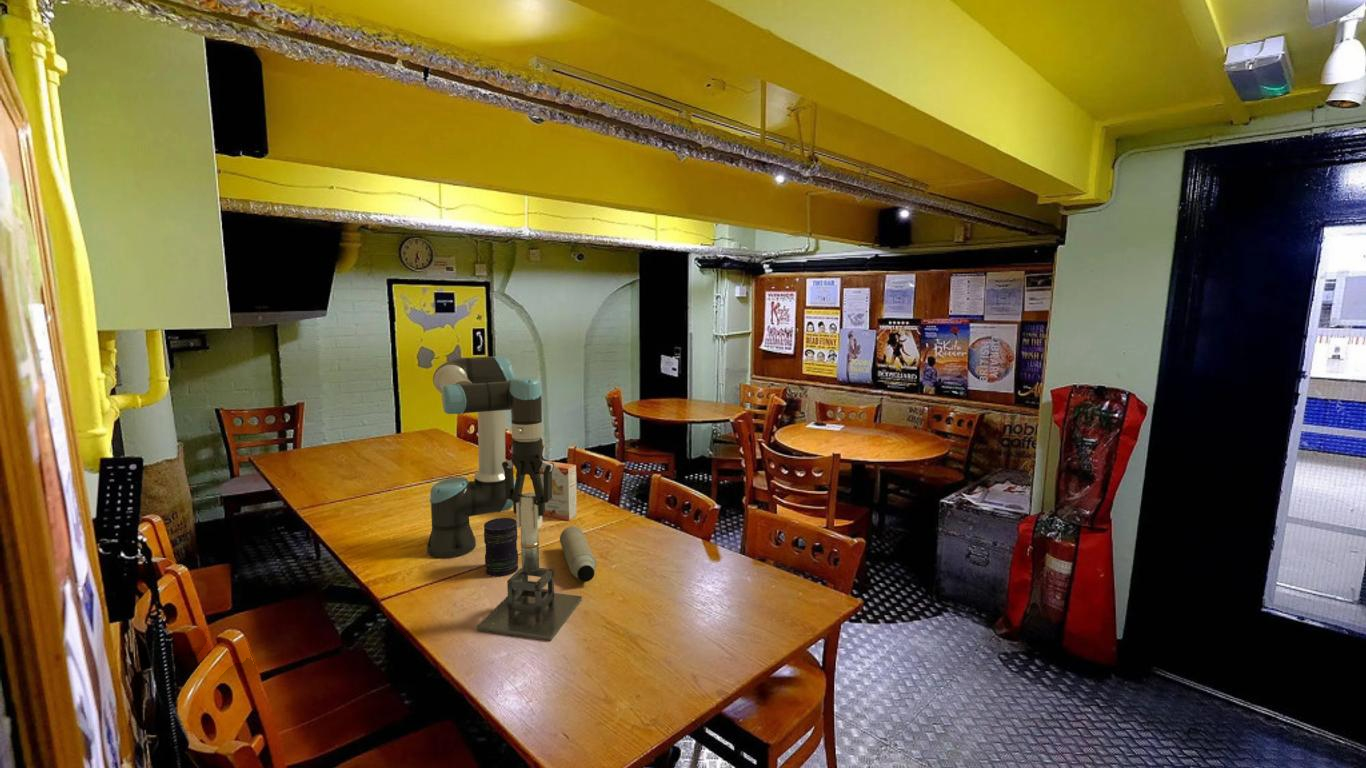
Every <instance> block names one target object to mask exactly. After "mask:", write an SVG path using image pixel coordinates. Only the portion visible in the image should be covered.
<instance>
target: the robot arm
mask: <svg viewBox="0 0 1366 768" xmlns="http://www.w3.org/2000/svg"><path fill="white" fill-rule="evenodd" d="M432 383H433V385H434V388H435V389H436V390H437V391H438V392H439V393H440V394H441V401H442V402H441V403H442V407H443V408H442V409H443V412H444V413H445V414H447V415H462V414H472V413H477V434H478V435H477V437H478V470H477V472H475V474H474V476H473V477H474V478H473V479H474V480H471V481H469V480H468V479H467V477H462V476H459V477H458V476H456V477H455V476H454V477H449V478H446V479H443V480H440V481H438V482H436V483H435V484H433V486H431V488H430V494H429V497H430V499H429V503H430V513H431V531H430V533H429V534H430V535H429V538H428V541H427V545H426V551H427V552H426V553H427V554H428V555H429V556H430V557H432V558H437V559H451V558H457V557H460V556H464V555H466V554H469V553H471V552H472V551H474V549H476V546H477V544H476V543H477V542H476V541H477V540H476V537H475V535H474V532H473V530H472V527H471V525H470V517H473V516H474V517H476V516H483V515H487V514H488V515H489V514H495V513H498V514H499V513H501V512H505V511H509V510H510V509H513V511H512V512H513V513H514V515H516V521H517V528H521V519H520V495H521V494H523V488H524V484H525V478H526V476H527V475H528V476H529V479H530V480H531V482H532V486H533V491H534V493H535V496H536V500H537V503H536V504H535V505H534V512H535V529H538V530H539V529H540V528H541V527H542V526H543V517H544V516H543V515H544V514H545V503H547V502H548V501H550V500H551V499H552V470H553V468H554V464H553V463H550V464H549V463H547V462H545V461H546V460H545V458H544V456H543V452H544V450H543V449H544V448H543V442H544V441H543V439H542V437H543V412H542V411H543V408H542V407H543V406H542V404H543V401H542V400H543V399H542V394H543V390H542V381H541V379H539V378H537V377H533V376H520V377H515V372H514V370H513V366H512V363H511V362H510V359H509V358H507V357H504V356H495V355H494V356H479V357H476V356H475V357H474V356H473V357H458V358H454V359H450V360H448V361H446V362H443V363H442V364H441V365H440V366H438V367H437V368H436V369H435V371H434V373H433V376H432ZM509 410H510V414H511V415H510V416H511V421H510V422H511V424H510V425H511V438H512V441H511V451H512V457H511V459H507V460H506V411H509ZM542 466H543V471H544V475H543V482H544V490H543V486H542V482H541V478H540V475H541V473H540V468H541V467H542ZM514 468H515V469H516V474H515V475H514Z"/></svg>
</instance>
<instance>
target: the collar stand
mask: <svg viewBox="0 0 1366 768" xmlns="http://www.w3.org/2000/svg"><path fill="white" fill-rule="evenodd" d="M554 575H555V569H554V568H547V567H539V570H537V571H535V572H531V573H527V572H523V571H522V567H520V569H518V570H517V571H516V572H515V573H513V574H512V576H511V577H510V578H509V579H507V581H506V582H507V583H506V585H507V596H506V597H505V598H504V599H503V600H502V601H501V602H499V604H498V605H497V606H496V607H495V608H494V609H493V610H492V611H491V612H490V613H489V614H488V615H487V616H486V617H485V618H484V619H483V620H481V622H479V624H478V625H477V626H476V631H477V632H484V633H491V634H499V635H505V636H512V637H520V638H527V639H535V640H542V641H549V642H551V641H552V640H553V639H554V638H555V636H556V635H557V634H558V632H559V631H560V630H561V628H562V627H563V625H564V624H565V623H566V622H567V620H568V619H569V618H570V616H571V615H572V614H573V612H574V611H575V610H576V609H577V607H578V606H579V605H580V603H581V602H582V601H583V599H582V598H583V597H582V595H575V594H567V593H559V592H558V593H557V592H555V576H554ZM529 576H530V577H538V578H539V579H538V580H537V581H534V580H533V581H532V580H529ZM546 585H547V589H546V588H544V587H546Z"/></svg>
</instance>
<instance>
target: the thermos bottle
mask: <svg viewBox="0 0 1366 768" xmlns="http://www.w3.org/2000/svg"><path fill="white" fill-rule="evenodd" d="M559 541H560V545H561V549H562V551H563V554H564V557H565V559H566V563H567V566H568V568H569V571H570V573H571V575H572V576H573V577H575V578H577V579H579V581H580V582H583V583H587V582H590V581H591V580H592V579H593V578H594V576H595V571H596V567H597V561H596V558H595V556H594V554H593V550H592V549H591V547H590V545H589V543H588V540H587V538H586V536H585V534H584V532H583V530H582V529H581V528H580V527H578V526H574V525H572V526H568V527H565V528H564V529H563V530H562V531H561V533H560V535H559Z"/></svg>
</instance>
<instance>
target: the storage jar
mask: <svg viewBox="0 0 1366 768" xmlns="http://www.w3.org/2000/svg"><path fill="white" fill-rule="evenodd" d="M483 528H484V529H483V531H484V532H483V538H484V539H483V541H484V545H485V554H484V564H485V565H484V566H485V574H487V576H489V575H490V576H489V577H493V576H494V577H493V578H501V577H502V576H503V577H507V576H510V575H514V574H515V573H516V572H517V571H518V570H519V551H518V548H517V547H518V546H517V545H518V543H517V541H518V527H517V519H514V518H512V517H511V518H510V517H497V518H493V519H490V520H488V521H486V522H485V523H484V524H483ZM503 577H502V578H503Z"/></svg>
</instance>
